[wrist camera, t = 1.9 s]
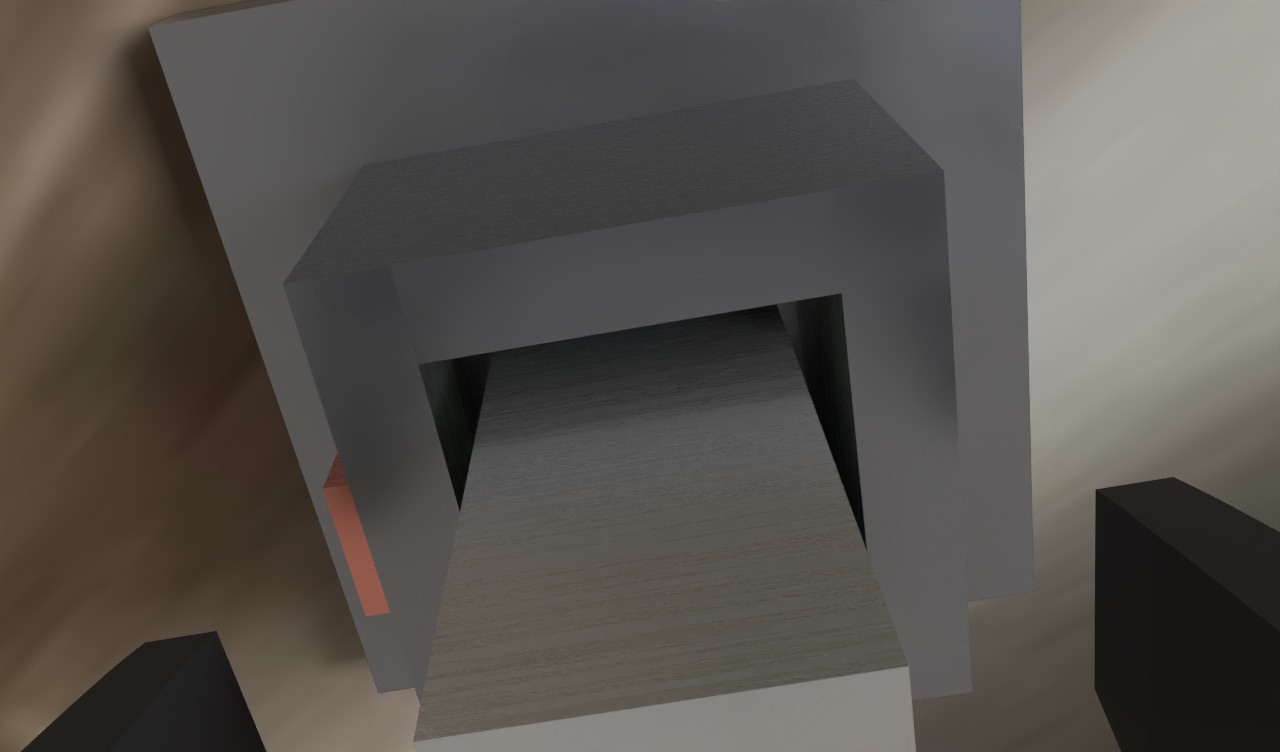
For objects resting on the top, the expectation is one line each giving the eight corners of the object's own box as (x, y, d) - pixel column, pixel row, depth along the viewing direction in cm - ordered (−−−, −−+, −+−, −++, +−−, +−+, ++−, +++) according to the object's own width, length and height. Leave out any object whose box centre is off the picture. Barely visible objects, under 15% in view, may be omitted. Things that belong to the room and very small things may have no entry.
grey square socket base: (989, -136, 14) (1181, -115, 9) (1012, 552, 18) (1149, 796, 14) (176, 13, 14) (-22, 104, 10) (389, 650, 18) (322, 917, 14)
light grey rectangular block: (754, 214, 14) (924, 650, 7) (783, 437, 16) (951, 1003, 8) (500, 258, 14) (391, 731, 7) (551, 475, 16) (509, 1066, 8)
